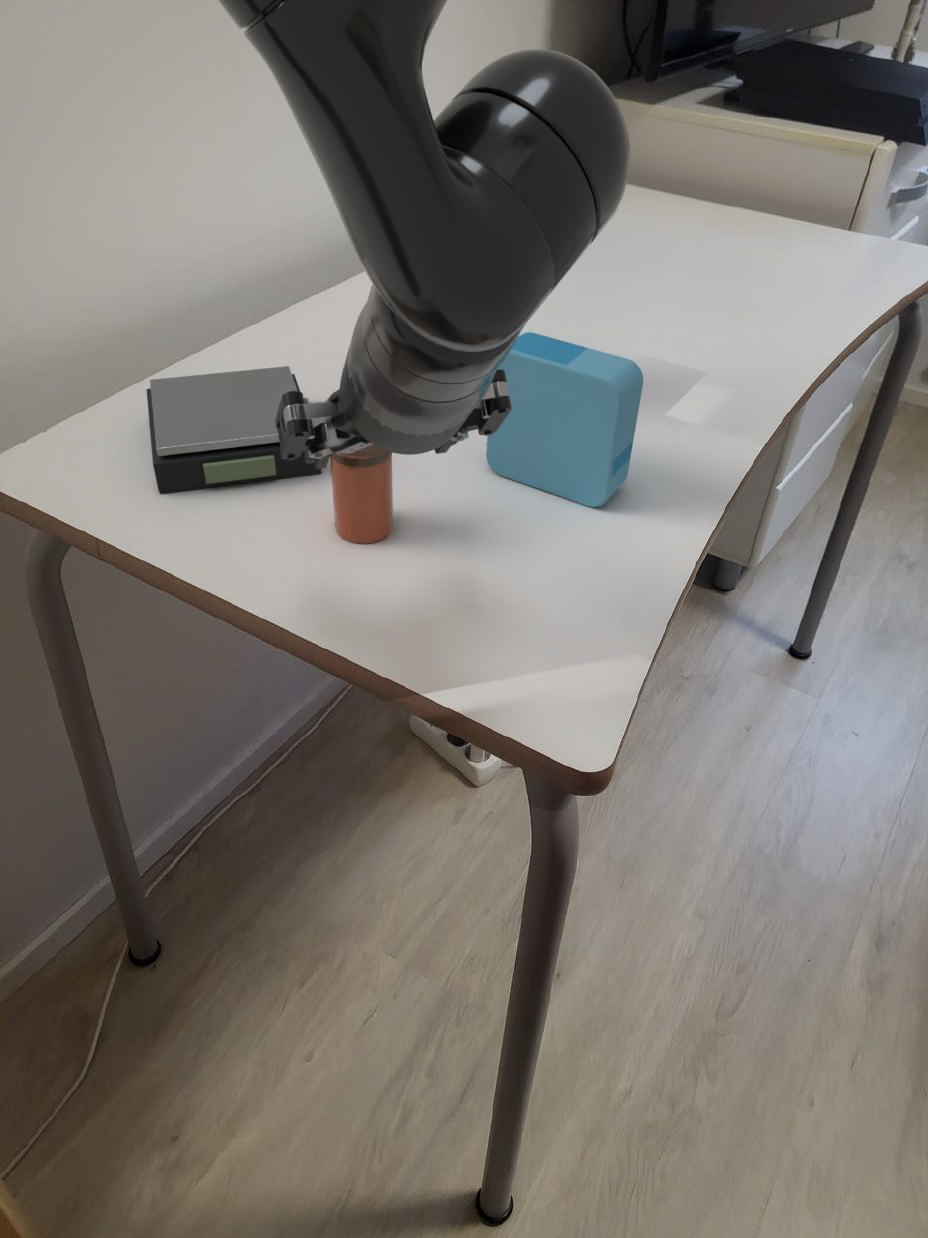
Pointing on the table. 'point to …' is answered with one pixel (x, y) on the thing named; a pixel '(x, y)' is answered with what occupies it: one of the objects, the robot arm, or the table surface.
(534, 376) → the data package
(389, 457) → the spice tin
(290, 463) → the scale
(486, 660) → the table surface
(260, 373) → the scale pan
